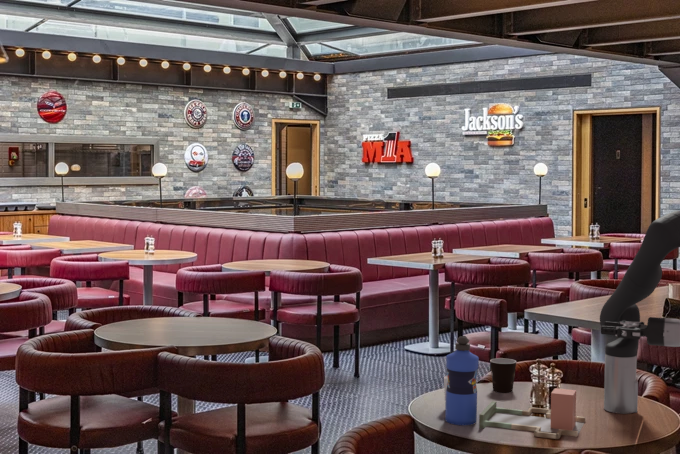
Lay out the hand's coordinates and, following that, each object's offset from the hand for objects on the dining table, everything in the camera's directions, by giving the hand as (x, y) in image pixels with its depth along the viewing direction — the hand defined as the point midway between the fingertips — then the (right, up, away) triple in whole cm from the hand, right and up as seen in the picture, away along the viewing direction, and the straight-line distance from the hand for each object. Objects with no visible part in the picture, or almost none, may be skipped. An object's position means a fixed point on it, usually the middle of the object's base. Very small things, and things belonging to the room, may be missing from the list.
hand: (602, 327), depth 244 cm
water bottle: (-37, -29, +15) cm, 50 cm away
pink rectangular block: (-10, -29, +6) cm, 31 cm away
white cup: (-37, -28, +27) cm, 54 cm away
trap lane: (-17, -29, +9) cm, 35 cm away
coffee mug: (-18, -27, +52) cm, 61 cm away
